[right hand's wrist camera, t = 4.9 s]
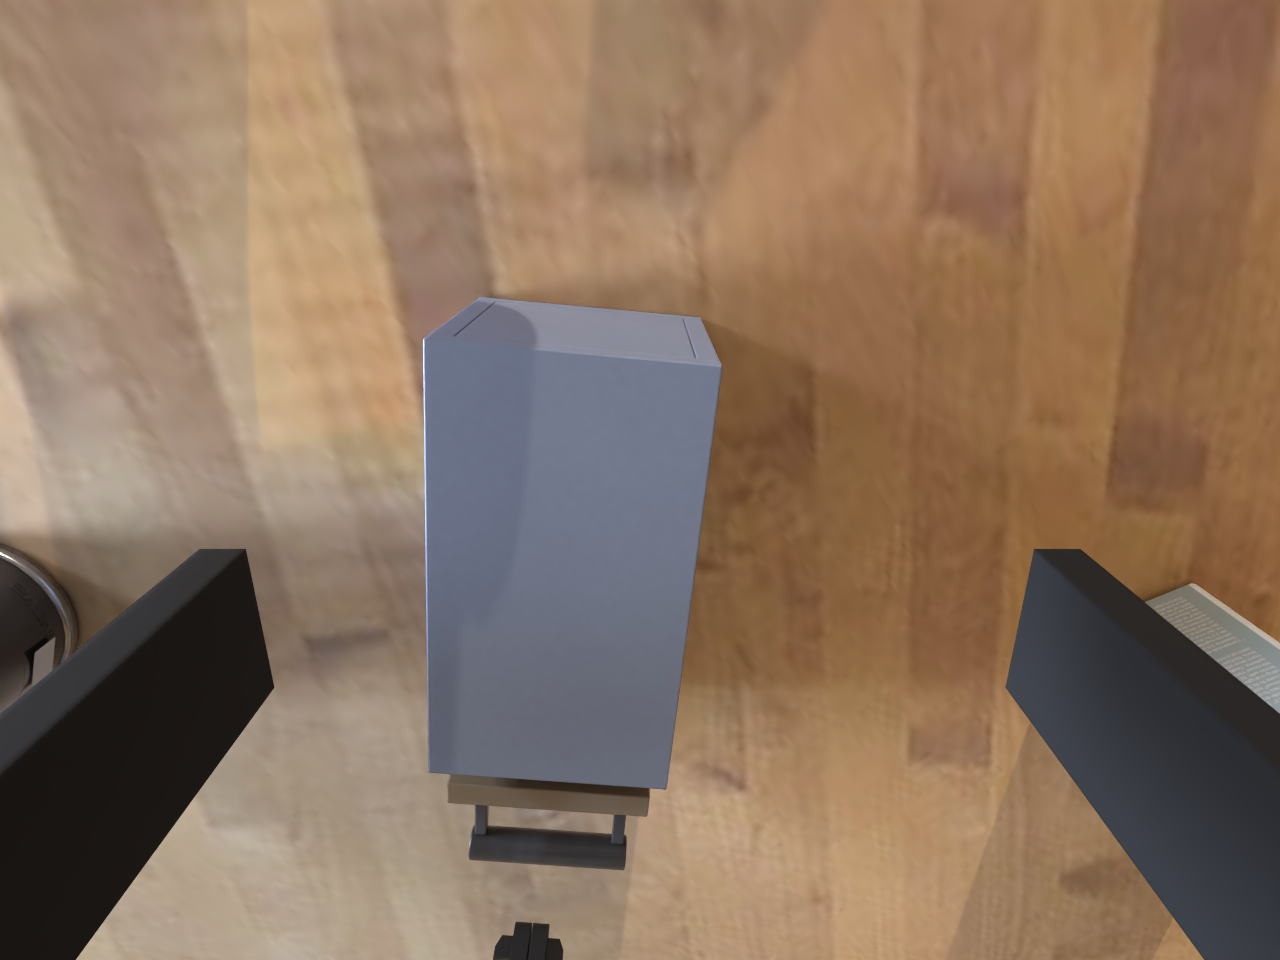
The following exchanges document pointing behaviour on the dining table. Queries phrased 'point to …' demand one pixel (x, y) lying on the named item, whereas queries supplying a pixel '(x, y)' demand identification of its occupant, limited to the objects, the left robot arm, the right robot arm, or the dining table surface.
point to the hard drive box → (1225, 638)
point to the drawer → (542, 842)
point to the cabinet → (562, 536)
